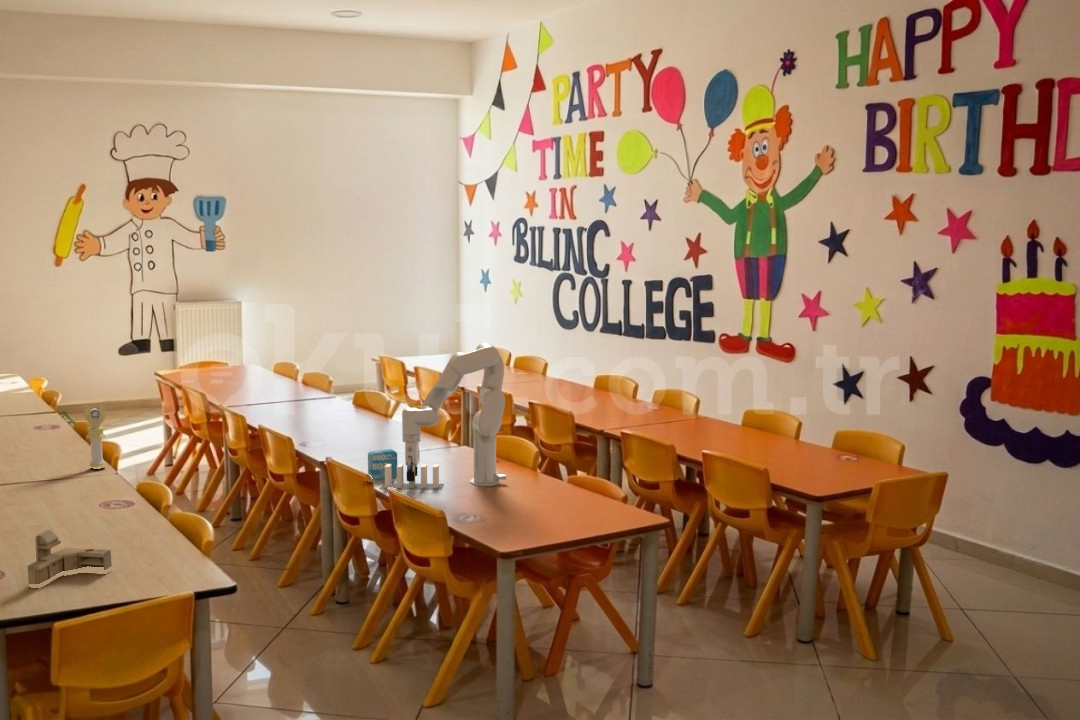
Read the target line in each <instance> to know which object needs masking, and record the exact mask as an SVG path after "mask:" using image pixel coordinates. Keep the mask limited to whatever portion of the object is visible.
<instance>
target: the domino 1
mask: <svg viewBox="0 0 1080 720" xmlns="http://www.w3.org/2000/svg"><path fill="white" fill-rule="evenodd" d="M392 478H393V477H392V469H391V464H386V466H385V478H384V483H385V488H388V487H391V485H392V482H393V480H392Z"/></svg>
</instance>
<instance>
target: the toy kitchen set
mask: <svg viewBox="0 0 1080 720" xmlns="http://www.w3.org/2000/svg"><path fill="white" fill-rule="evenodd" d="M34 540H35V558H36V559H35V561H33V562H32V563H30V564H28V565H27V578H28V579H27V581H28V582H27V583H28V585H29V584H40V583H42V582H44V581H46V580H48V579H50V578H51V577H53V576H55V575H56V574H58V573H60V572H62V571H68V570H73V569H78V568H82V567H87V566H89V567H90V566H91V567H104V570H106V569H108V568H109V567H111V566H113V565H112V550H111V549H104V548H102V549H101V548H100V549H99V548H88V547H87V548H86V547H85V548H83V547H82V548H81V547H80V548H78V547H66V546H65V547H63V548H61V549H59V550H56V551H54V552H53V553H52V548H54V547H55V546H58V545H60V544H61V543H62V542H61V539H59V537H58V536H57V534H56V533H55V532H54V531H53V530H51V529H46V530H44V531H43V532H40V533H38V534H36V535H35V538H34Z"/></svg>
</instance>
